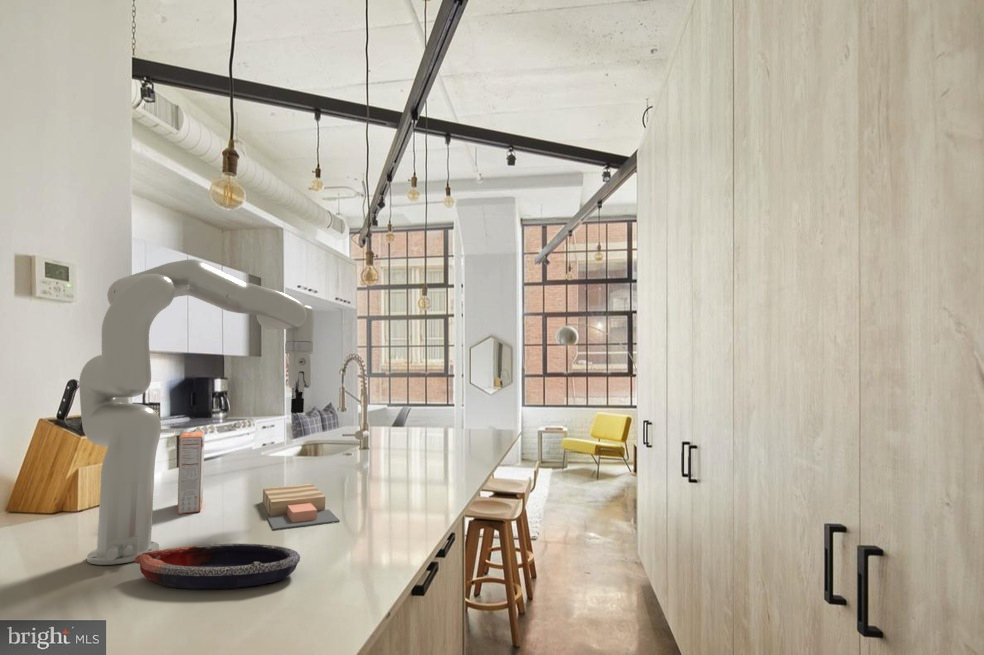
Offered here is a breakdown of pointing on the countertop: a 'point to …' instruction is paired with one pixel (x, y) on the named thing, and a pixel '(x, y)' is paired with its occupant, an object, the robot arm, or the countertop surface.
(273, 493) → the wooden block
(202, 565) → the dish
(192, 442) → the cracker box
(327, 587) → the countertop surface
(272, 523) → the mat
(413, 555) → the countertop surface
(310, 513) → the pink rectangular block
